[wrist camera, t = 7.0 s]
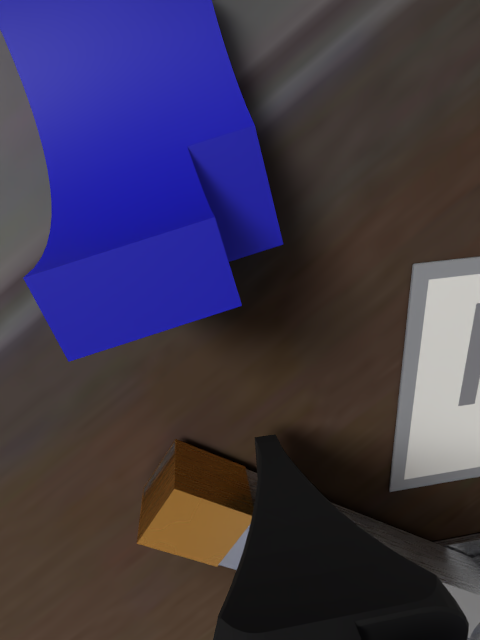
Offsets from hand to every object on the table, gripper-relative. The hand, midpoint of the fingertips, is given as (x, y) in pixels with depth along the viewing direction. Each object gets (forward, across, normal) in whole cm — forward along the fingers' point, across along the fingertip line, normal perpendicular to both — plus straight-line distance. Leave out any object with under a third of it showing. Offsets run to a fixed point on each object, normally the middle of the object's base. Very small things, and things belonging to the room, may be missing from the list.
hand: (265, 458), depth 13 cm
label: (+1, -11, -1) cm, 11 cm away
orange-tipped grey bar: (+1, -4, +6) cm, 8 cm away
